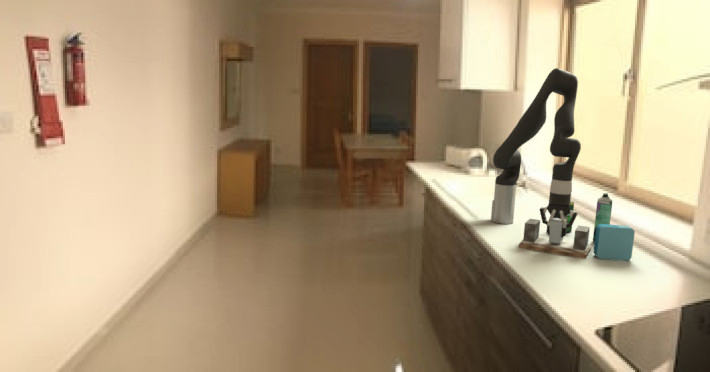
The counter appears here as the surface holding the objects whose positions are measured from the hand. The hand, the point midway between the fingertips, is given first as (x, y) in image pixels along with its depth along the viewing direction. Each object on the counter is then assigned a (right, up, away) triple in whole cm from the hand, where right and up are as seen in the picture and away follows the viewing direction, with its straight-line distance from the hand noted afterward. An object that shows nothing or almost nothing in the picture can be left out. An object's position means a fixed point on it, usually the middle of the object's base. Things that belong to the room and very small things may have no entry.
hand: (555, 235), depth 220 cm
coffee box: (+12, -1, +28) cm, 31 cm away
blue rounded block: (+17, -8, -8) cm, 21 cm away
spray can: (+22, -4, +13) cm, 26 cm away
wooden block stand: (0, -5, +1) cm, 5 cm away
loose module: (0, -2, 0) cm, 2 cm away
